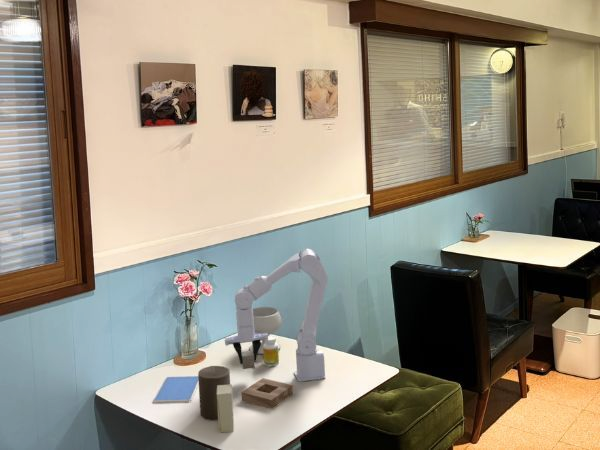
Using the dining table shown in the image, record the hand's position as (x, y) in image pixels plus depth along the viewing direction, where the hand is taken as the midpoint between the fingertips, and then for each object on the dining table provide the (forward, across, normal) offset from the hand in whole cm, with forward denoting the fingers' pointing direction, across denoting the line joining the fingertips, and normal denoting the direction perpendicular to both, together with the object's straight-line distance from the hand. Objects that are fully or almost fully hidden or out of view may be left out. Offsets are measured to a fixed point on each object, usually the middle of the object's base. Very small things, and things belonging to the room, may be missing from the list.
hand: (248, 362), depth 225 cm
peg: (+2, 0, 0) cm, 2 cm away
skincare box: (+7, +11, +31) cm, 34 cm away
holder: (+7, -4, +15) cm, 17 cm away
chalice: (+7, -10, -27) cm, 30 cm away
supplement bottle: (+7, -10, -12) cm, 17 cm away
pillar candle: (+7, +13, +21) cm, 26 cm away
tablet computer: (+7, +24, 0) cm, 25 cm away
